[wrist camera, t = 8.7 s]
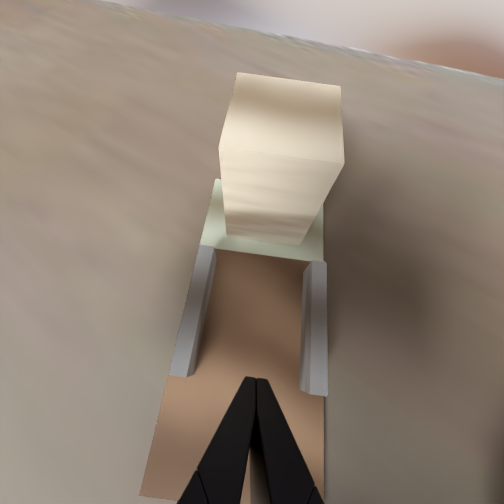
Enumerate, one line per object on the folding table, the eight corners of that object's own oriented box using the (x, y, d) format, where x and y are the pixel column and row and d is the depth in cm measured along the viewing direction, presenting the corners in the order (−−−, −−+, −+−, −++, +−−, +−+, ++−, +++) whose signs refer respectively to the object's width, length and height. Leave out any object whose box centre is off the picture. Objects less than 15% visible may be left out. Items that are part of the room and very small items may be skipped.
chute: (319, 511, 13) (342, 555, 10) (144, 488, 13) (117, 525, 10) (320, 198, 23) (333, 173, 20) (216, 184, 23) (213, 157, 20)
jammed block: (299, 246, 19) (344, 163, 11) (226, 236, 19) (218, 146, 11) (301, 188, 22) (340, 86, 14) (237, 179, 22) (237, 72, 14)
